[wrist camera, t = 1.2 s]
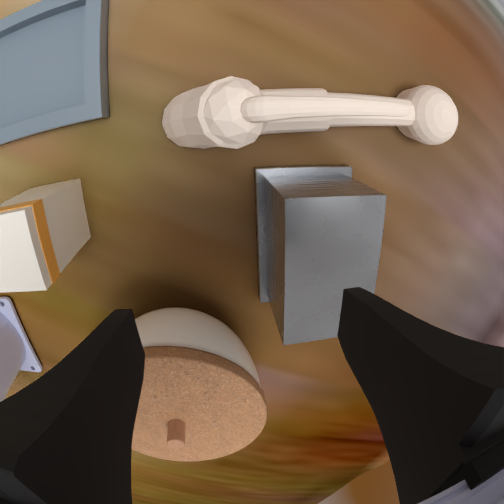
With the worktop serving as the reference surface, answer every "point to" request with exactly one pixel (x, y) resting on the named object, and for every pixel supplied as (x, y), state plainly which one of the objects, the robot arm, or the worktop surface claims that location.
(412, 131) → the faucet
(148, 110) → the worktop surface
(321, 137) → the worktop surface
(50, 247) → the cartridge
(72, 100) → the tray
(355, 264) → the block
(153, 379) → the lidded jar
